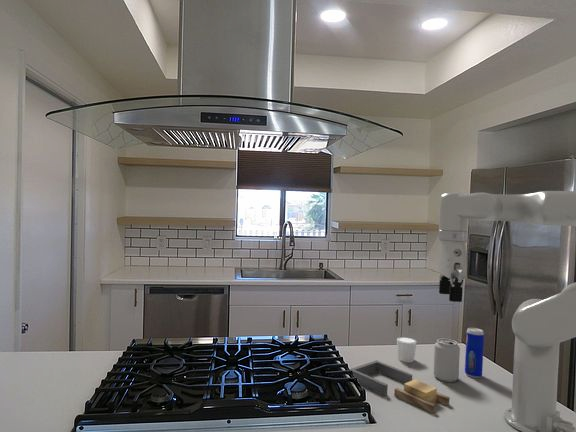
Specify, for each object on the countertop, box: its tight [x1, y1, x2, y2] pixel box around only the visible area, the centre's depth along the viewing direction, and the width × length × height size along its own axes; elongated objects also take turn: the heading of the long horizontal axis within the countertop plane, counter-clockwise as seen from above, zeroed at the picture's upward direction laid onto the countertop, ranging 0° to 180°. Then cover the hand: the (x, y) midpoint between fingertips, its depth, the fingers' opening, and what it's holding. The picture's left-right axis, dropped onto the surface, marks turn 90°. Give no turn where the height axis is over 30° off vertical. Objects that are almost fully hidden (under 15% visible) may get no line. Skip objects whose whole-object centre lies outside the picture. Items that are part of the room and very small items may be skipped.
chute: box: [393, 387, 451, 414], centre depth 112 cm, size 12×8×2 cm
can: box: [433, 337, 461, 383], centre depth 127 cm, size 8×8×12 cm
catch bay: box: [348, 360, 413, 397], centre depth 123 cm, size 14×13×3 cm
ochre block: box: [403, 379, 438, 404], centre depth 112 cm, size 7×5×4 cm
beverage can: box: [464, 327, 485, 379], centre depth 130 cm, size 5×5×15 cm
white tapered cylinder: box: [396, 336, 418, 363], centre depth 142 cm, size 7×7×7 cm
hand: (449, 297), depth 112 cm, fingers open, 9 cm apart
